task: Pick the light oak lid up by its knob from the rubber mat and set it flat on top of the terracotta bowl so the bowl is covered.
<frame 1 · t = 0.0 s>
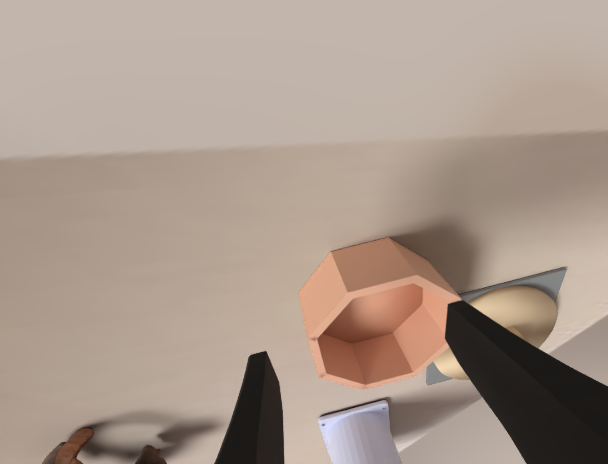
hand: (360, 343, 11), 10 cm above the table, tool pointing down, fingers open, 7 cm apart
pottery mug: (121, 443, 30), on the table
lid: (489, 333, 29), resting on mat
mat: (487, 331, 29), on the table
bowl: (365, 296, 24), on the table
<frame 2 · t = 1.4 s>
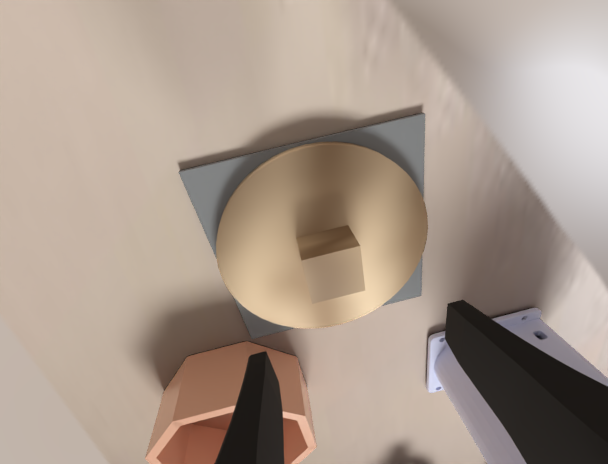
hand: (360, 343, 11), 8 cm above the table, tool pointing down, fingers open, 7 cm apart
lid: (323, 245, 18), resting on mat
mat: (322, 243, 18), on the table
bowl: (239, 389, 24), on the table
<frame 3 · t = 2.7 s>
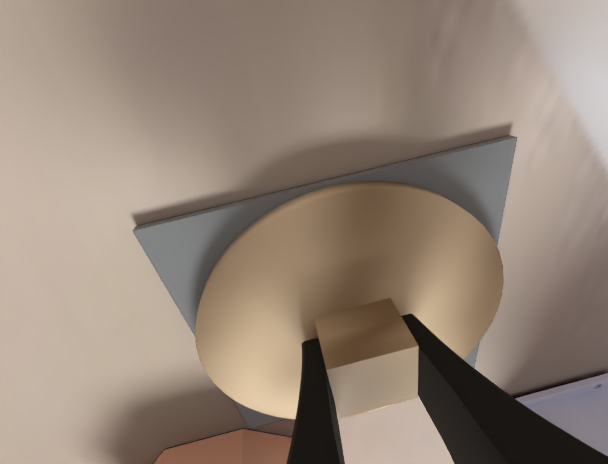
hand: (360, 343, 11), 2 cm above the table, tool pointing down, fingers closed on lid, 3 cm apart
lid: (350, 318, 12), resting on mat, touching gripper
mat: (348, 313, 13), on the table
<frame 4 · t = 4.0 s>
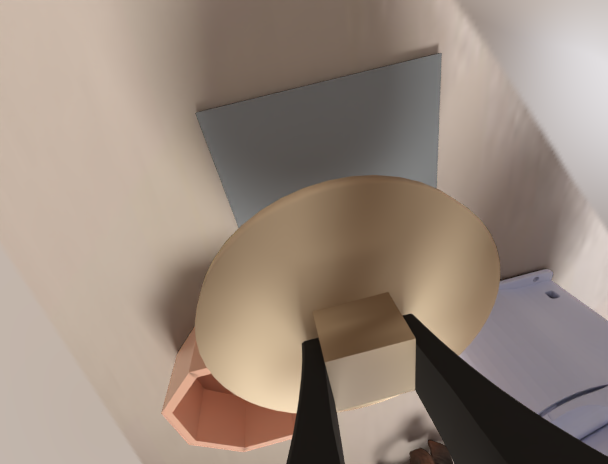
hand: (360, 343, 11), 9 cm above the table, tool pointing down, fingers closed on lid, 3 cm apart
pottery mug: (410, 452, 38), on the table
lid: (348, 313, 12), point 7 cm above the table, touching gripper
mat: (336, 195, 18), on the table
bowl: (251, 353, 24), on the table
when the fingers open (7 cm above the table, at t = 5.5 s): lid drops 1 cm, resting on bowl.
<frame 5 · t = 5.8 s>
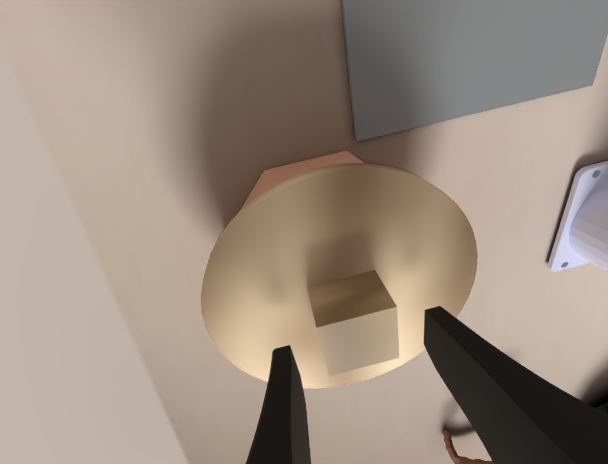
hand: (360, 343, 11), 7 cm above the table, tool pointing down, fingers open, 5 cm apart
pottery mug: (481, 412, 32), on the table
lid: (340, 291, 14), point 4 cm above the table, touching bowl
bowl: (321, 243, 18), on the table
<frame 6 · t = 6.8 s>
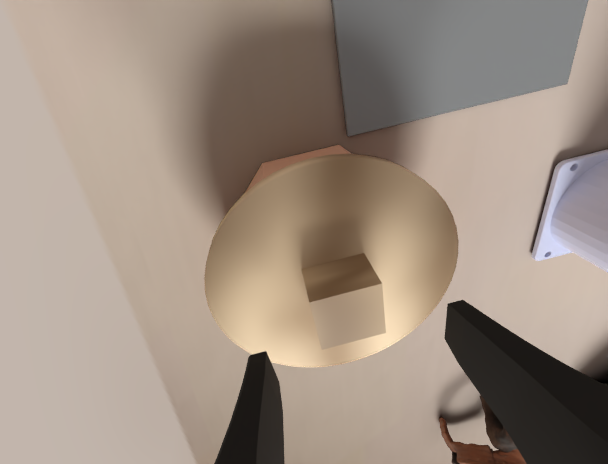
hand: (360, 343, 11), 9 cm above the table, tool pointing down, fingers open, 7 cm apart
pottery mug: (475, 400, 34), on the table
lid: (333, 274, 15), point 4 cm above the table, touching bowl
bowl: (316, 233, 19), on the table
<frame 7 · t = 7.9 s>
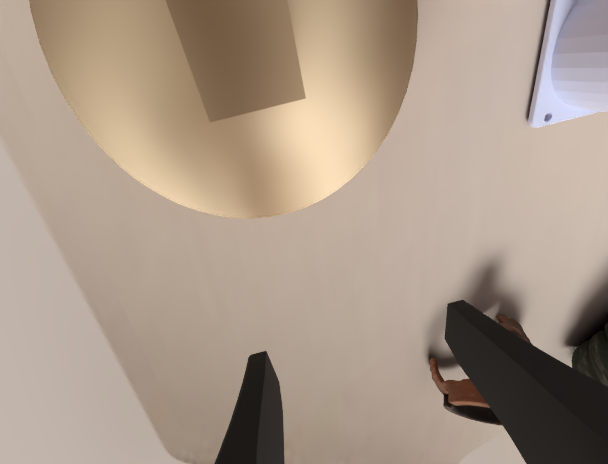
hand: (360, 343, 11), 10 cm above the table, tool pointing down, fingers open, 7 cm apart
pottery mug: (470, 338, 29), on the table
lid: (245, 57, 11), point 4 cm above the table, touching bowl
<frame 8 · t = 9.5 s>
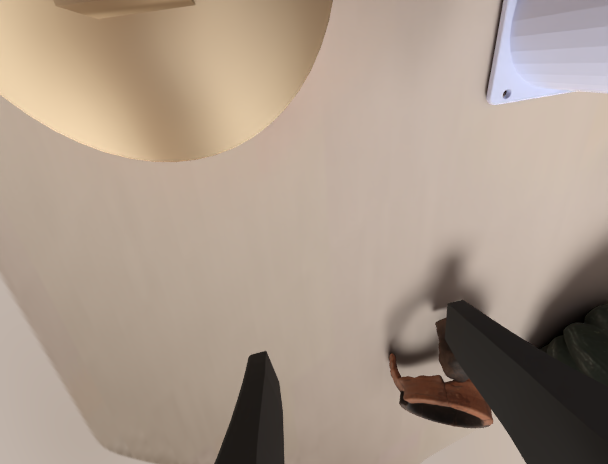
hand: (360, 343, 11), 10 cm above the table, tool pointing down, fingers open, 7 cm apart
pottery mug: (432, 335, 28), on the table
squash: (573, 334, 32), on the table
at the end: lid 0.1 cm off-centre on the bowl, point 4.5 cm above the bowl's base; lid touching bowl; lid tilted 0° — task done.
